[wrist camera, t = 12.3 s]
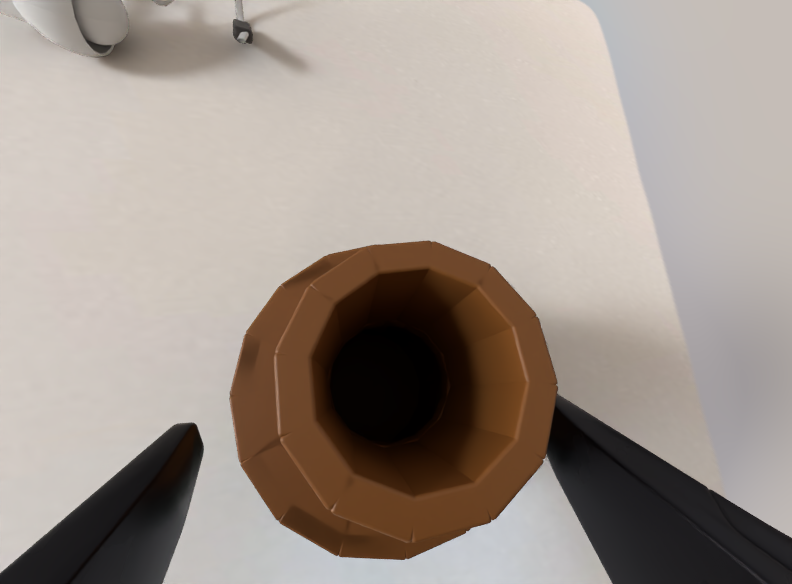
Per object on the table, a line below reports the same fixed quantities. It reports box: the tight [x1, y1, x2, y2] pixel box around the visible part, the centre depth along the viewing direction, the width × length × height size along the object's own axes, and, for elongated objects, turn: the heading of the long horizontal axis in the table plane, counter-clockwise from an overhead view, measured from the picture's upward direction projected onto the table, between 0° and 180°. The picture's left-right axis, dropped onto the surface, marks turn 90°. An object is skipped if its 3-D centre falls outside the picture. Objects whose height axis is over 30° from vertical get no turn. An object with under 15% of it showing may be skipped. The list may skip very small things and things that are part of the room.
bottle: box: [230, 241, 558, 560], centre depth 10 cm, size 6×6×13 cm
